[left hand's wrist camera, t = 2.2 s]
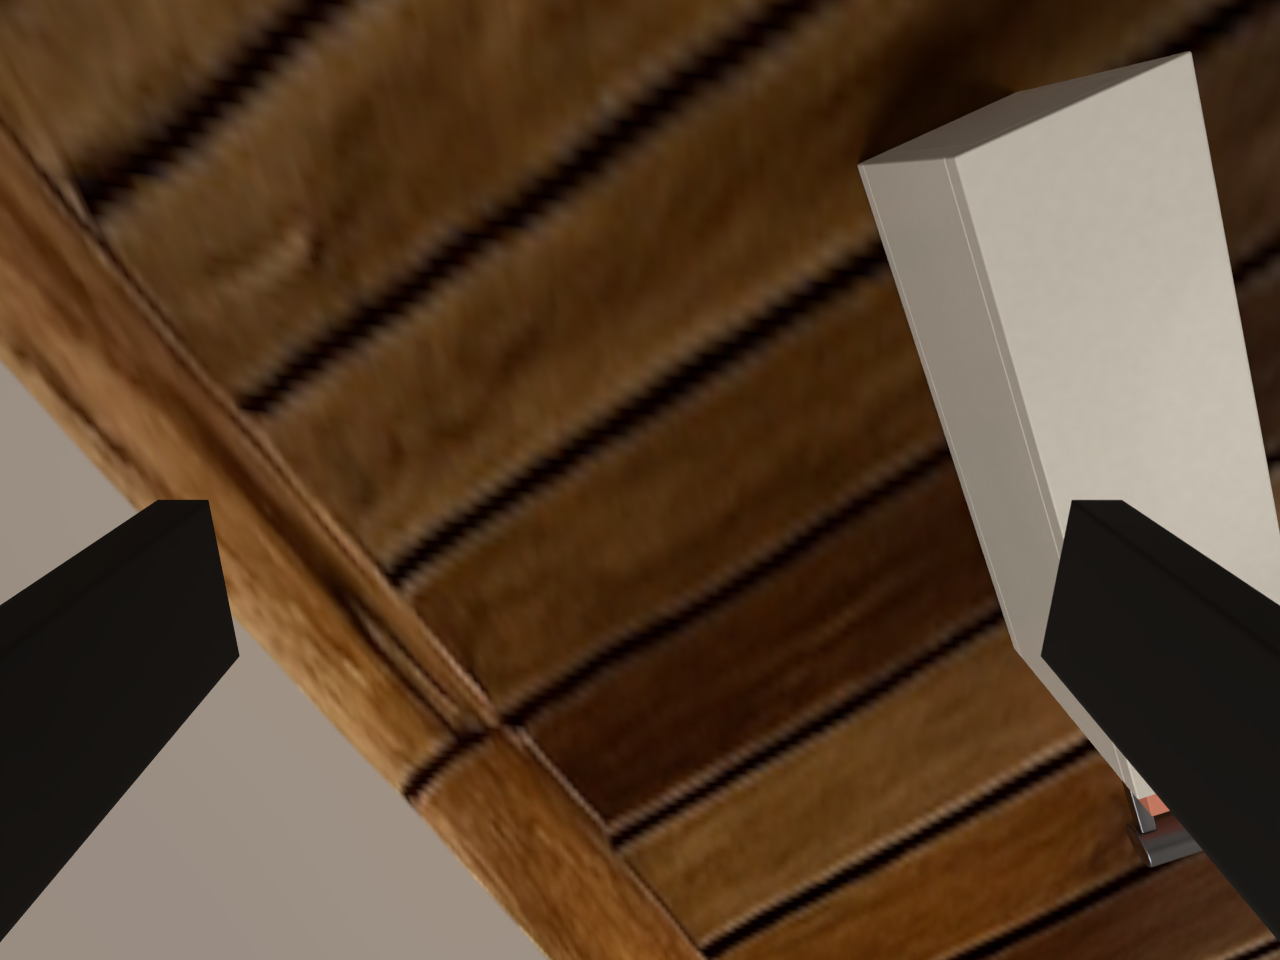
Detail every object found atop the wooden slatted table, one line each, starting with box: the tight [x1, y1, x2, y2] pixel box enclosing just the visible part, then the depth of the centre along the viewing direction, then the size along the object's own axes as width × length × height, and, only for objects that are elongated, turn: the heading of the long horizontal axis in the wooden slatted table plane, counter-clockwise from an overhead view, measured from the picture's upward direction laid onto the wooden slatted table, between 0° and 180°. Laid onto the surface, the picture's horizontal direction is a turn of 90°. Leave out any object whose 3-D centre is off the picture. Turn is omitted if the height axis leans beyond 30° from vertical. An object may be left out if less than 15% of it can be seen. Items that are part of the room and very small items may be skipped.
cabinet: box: [858, 51, 1280, 799], centre depth 27 cm, size 22×6×9 cm, turn 24°
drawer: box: [1122, 781, 1203, 867], centre depth 29 cm, size 26×5×8 cm, turn 24°
